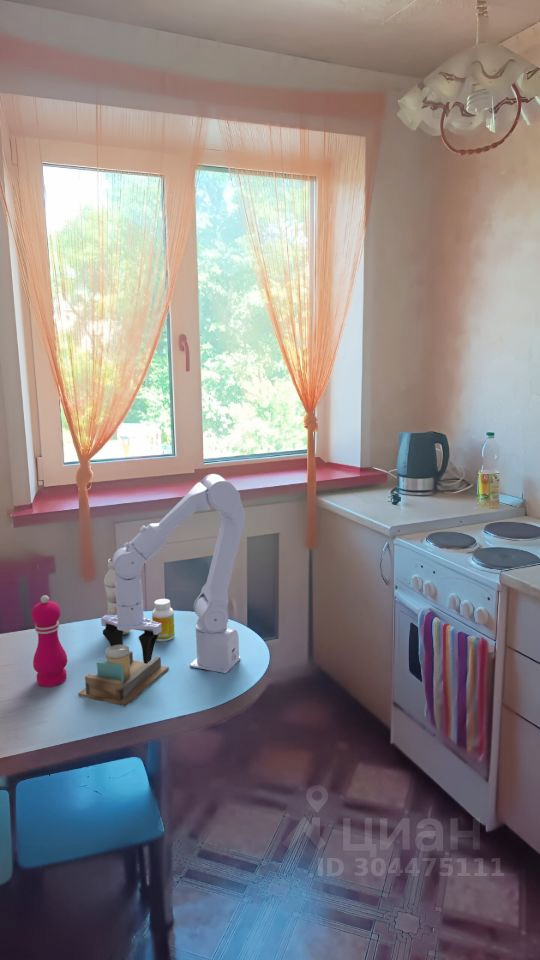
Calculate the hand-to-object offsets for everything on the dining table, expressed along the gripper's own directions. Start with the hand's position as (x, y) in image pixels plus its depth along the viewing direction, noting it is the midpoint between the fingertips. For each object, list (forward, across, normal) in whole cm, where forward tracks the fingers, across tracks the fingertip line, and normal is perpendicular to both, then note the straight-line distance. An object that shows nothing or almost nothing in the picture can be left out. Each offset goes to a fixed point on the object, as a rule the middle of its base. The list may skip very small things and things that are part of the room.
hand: (133, 658), depth 146 cm
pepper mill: (+4, -16, -8) cm, 19 cm away
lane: (+4, 0, -3) cm, 5 cm away
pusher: (+3, 0, -8) cm, 9 cm away
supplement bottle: (+4, -4, +20) cm, 20 cm away
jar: (+3, 0, -5) cm, 6 cm away
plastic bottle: (+4, -16, +18) cm, 24 cm away
